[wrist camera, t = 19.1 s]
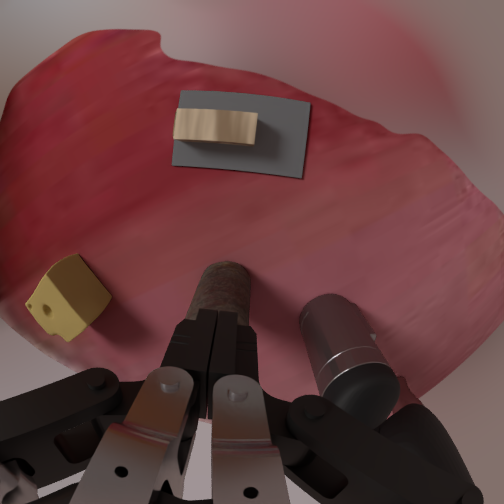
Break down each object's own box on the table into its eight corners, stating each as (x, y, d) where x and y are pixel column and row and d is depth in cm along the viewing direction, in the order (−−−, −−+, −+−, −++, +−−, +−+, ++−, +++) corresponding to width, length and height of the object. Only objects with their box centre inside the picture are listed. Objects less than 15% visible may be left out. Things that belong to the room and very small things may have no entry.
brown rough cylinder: (205, 305, 43) (180, 399, 24) (196, 261, 40) (157, 341, 21) (253, 300, 42) (257, 395, 23) (247, 255, 40) (246, 336, 21)
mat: (309, 103, 33) (310, 102, 33) (301, 178, 37) (301, 178, 36) (181, 91, 33) (181, 90, 32) (172, 165, 36) (171, 165, 36)
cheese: (87, 322, 44) (61, 352, 34) (52, 279, 41) (21, 303, 32) (116, 296, 42) (89, 327, 33) (77, 248, 39) (43, 269, 30)
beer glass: (377, 385, 50) (402, 435, 35) (405, 369, 49) (434, 416, 35) (382, 400, 52) (405, 446, 37) (408, 386, 51) (434, 430, 36)
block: (257, 113, 30) (175, 108, 30) (254, 144, 31) (171, 138, 31) (256, 118, 34) (182, 113, 33) (253, 146, 35) (179, 141, 35)
